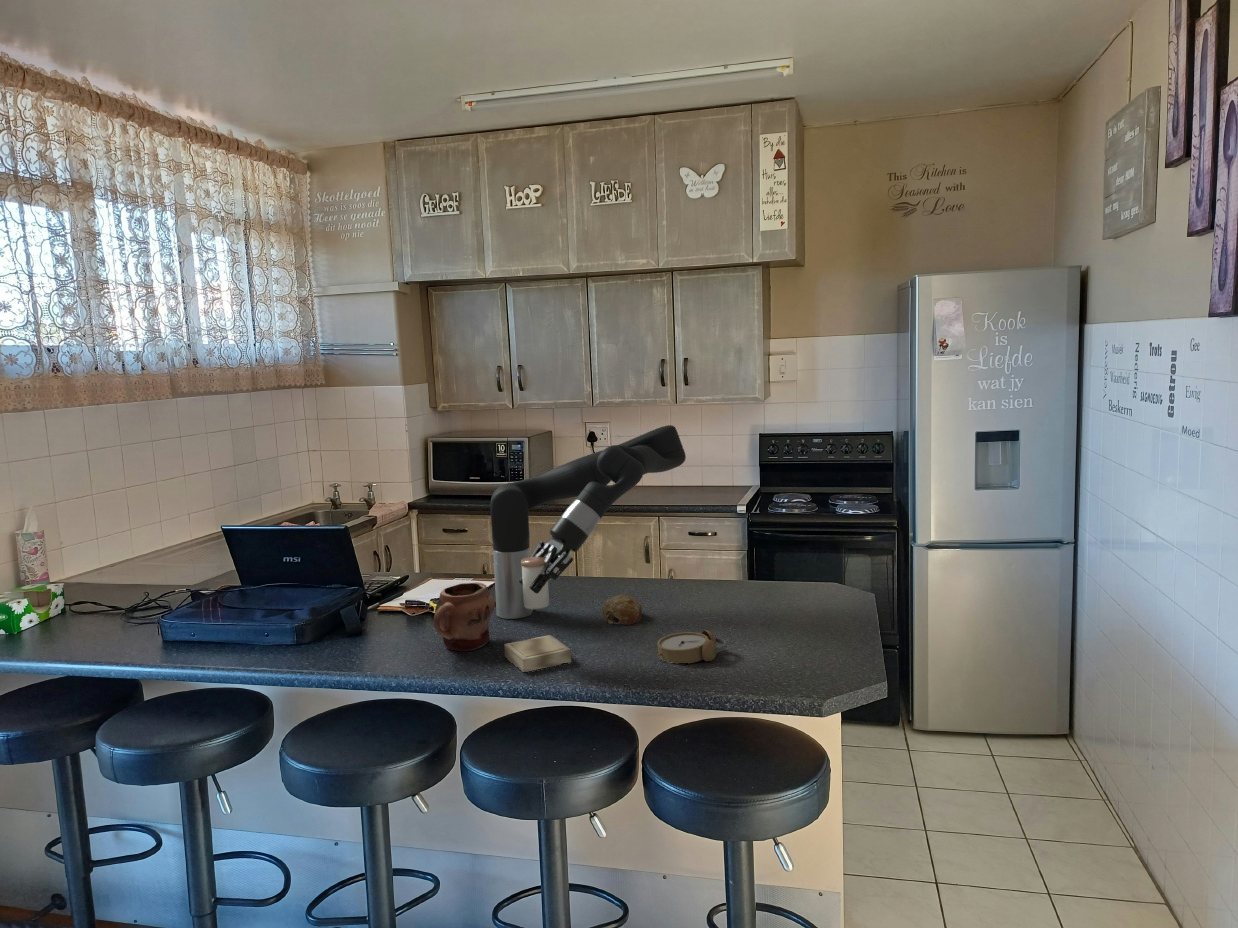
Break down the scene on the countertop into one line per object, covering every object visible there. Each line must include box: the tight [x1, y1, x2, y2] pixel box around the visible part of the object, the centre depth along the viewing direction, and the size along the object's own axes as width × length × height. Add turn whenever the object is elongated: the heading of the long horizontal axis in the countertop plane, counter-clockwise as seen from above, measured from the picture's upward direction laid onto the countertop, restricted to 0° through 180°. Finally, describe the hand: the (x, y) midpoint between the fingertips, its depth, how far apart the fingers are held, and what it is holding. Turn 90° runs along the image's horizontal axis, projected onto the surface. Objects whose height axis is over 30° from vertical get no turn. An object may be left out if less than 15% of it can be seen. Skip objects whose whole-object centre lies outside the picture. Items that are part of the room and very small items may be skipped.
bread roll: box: [602, 593, 643, 625], centre depth 208 cm, size 10×10×8 cm
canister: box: [521, 557, 550, 610], centre depth 180 cm, size 6×6×10 cm
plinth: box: [504, 634, 572, 673], centre depth 182 cm, size 11×11×3 cm
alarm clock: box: [656, 630, 727, 664], centre depth 182 cm, size 11×5×15 cm
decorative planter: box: [433, 581, 496, 652], centre depth 191 cm, size 20×12×14 cm, turn 161°
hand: (527, 587), depth 180 cm, fingers closed on canister, 5 cm apart
